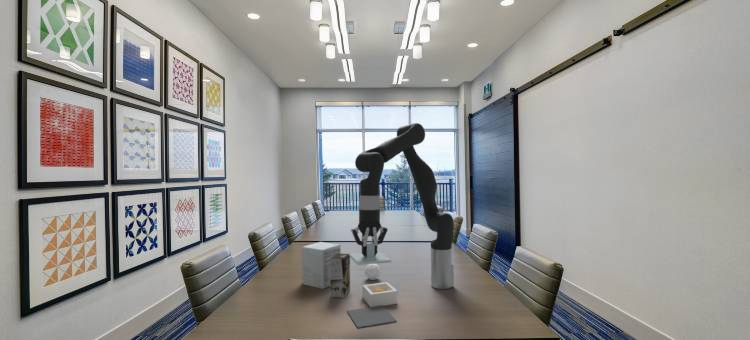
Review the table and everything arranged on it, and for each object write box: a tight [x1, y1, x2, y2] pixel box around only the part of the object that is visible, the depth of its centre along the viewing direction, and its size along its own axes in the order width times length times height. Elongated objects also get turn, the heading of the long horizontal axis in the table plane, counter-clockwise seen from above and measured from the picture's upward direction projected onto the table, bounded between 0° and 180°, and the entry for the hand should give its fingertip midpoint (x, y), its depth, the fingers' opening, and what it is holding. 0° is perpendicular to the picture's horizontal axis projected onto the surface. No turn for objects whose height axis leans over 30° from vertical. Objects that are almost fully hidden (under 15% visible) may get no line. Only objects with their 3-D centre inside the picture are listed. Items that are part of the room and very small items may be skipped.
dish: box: [361, 281, 398, 307], centre depth 133 cm, size 11×11×5 cm
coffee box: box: [329, 253, 351, 299], centre depth 141 cm, size 9×6×16 cm
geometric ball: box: [364, 263, 382, 281], centre depth 159 cm, size 8×8×8 cm
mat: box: [346, 305, 397, 329], centre depth 118 cm, size 14×14×1 cm
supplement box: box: [301, 241, 342, 290], centre depth 155 cm, size 13×13×18 cm
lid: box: [348, 241, 392, 266], centre depth 118 cm, size 12×12×6 cm
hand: (369, 255), depth 118 cm, fingers closed on lid, 2 cm apart
